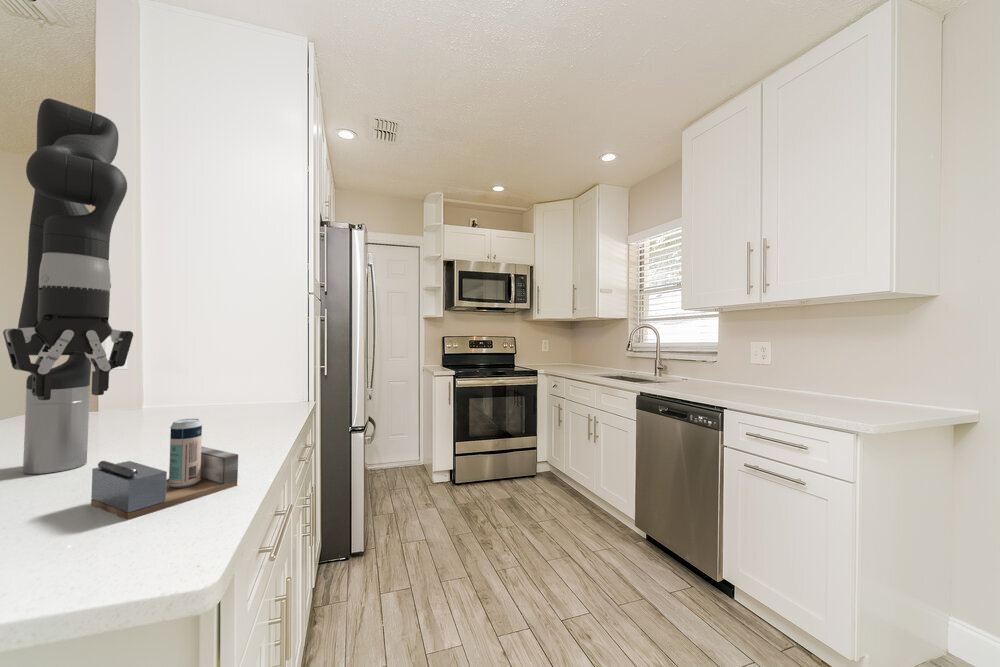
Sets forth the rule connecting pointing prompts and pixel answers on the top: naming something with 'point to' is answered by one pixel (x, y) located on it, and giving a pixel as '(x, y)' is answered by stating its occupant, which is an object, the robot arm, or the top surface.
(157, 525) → the top surface
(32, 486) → the top surface
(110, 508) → the vise base
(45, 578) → the top surface
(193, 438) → the beer can
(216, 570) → the top surface
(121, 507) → the box
